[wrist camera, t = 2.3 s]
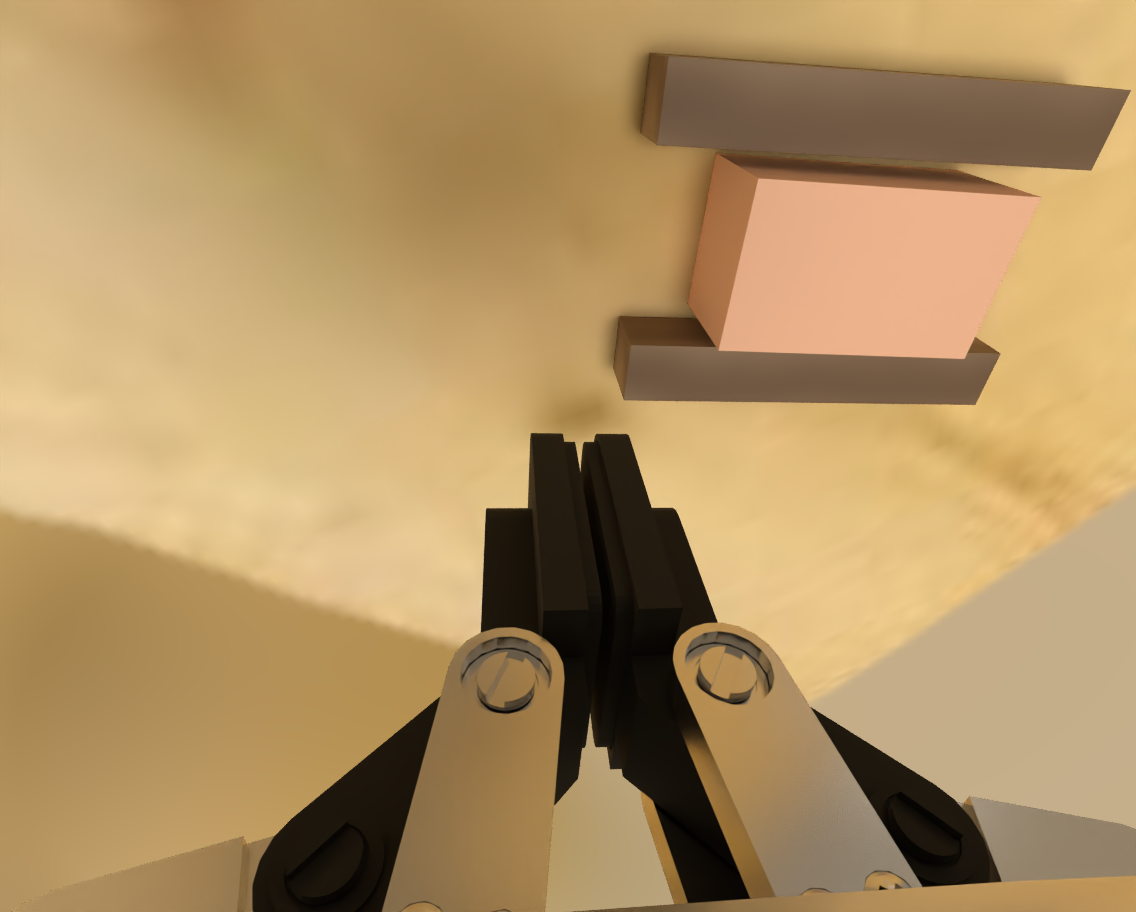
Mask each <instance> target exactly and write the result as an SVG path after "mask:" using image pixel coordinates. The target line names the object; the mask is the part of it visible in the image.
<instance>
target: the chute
mask: <svg viewBox="0 0 1136 912" xmlns="http://www.w3.org/2000/svg"><path fill="white" fill-rule="evenodd" d="M1130 91H1131V90H1122V89H1112V88H1102V87H1092V86H1082V85H1072V84H1060V83H1047V82H1034V81H1020V80H1007V79H993V78H980V77H967V76H953V75H940V74H926V73H913V72H900V71H886V70H873V69H859V68H846V67H833V66H819V65H806V64H792V63H779V62H766V61H752V60H739V59H725V58H712V57H699V56H685V55H672V54H658V53H650V56H649V64H648V73H647V82H646V90H645V99H644V108H643V116H642V125H641V133H642V134H643V135H644V136H646V137H647V138H648V139H650V140H651V141H652V142H654V143H655V144H656V145H663V146H680V147H697V148H714V149H732V150H749V151H766V152H783V153H800V154H817V155H834V156H852V157H869V158H886V159H903V160H920V161H937V162H954V163H972V164H989V165H1006V166H1023V167H1040V168H1057V169H1074V170H1092V168H1093V166H1094V164H1095V162H1096V160H1097V158H1098V156H1099V154H1100V152H1101V150H1102V148H1103V146H1104V144H1105V142H1106V140H1107V138H1108V136H1109V134H1110V132H1111V130H1112V128H1113V126H1114V124H1115V122H1116V120H1117V118H1118V116H1119V113H1120V111H1121V109H1122V107H1123V105H1124V103H1125V101H1126V99H1127V97H1128V95H1129V93H1130ZM999 356H1000V353H999V352H997V351H996V350H994V349H993V348H991V347H990V346H988V345H987V344H985V343H983V342H982V341H980V340H979V339H977V338H976V337H975V338H974V340H973V342H972V344H971V346H970V349H969V351H968V353H967V355H966V357H965V359H952V358H922V357H893V356H863V355H833V354H804V353H774V352H745V351H719V350H718V349H717V347H716V346H715V344H714V343H713V341H712V340H711V338H710V337H709V335H708V334H707V332H706V331H705V329H704V328H703V326H702V325H701V323H700V322H699V320H698V319H690V318H654V317H619V324H618V332H617V341H616V350H615V358H614V367H613V369H614V372H615V375H616V378H617V381H618V384H619V387H620V390H621V393H622V396H623V399H624V400H643V401H720V402H797V403H874V404H951V405H975V404H976V402H977V400H978V398H979V396H980V394H981V392H982V390H983V388H984V386H985V384H986V382H987V380H988V378H989V376H990V374H991V372H992V370H993V368H994V366H995V364H996V362H997V360H998V358H999Z"/></svg>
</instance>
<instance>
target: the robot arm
mask: <svg viewBox="0 0 1136 912" xmlns="http://www.w3.org/2000/svg"><path fill="white" fill-rule="evenodd" d="M590 714H591V721H592V730H593V738H594V743H595V746H596V747H607V750H608V757H609V763H610V769H622V774H623V777H624V778H626V779H627V780H628V781H629V782H631V783H632V784H633V785H634V786H636V787H637V788H638V789H639V790H640V791H641V798H642V804H643V809H644V813H645V816H646V819H647V822H648V825H649V828H650V831H651V834H652V837H653V840H654V843H655V846H656V850H657V853H658V855H659V859H660V862H661V865H662V868H663V871H664V874H665V877H666V880H667V883H668V886H669V889H670V892H671V895H672V898H673V902H674V904H673V905H660V906H659V905H658V906H645V907H631V908H618V909H605V910H589V911H575V912H1136V829H1134V828H1131V827H1129V826H1126V825H1123V824H1118V823H1113V822H1107V821H1102V820H1096V819H1091V818H1085V817H1080V816H1074V815H1069V814H1063V813H1058V812H1053V811H1047V810H1042V809H1036V808H1030V807H1026V806H1020V805H1015V804H1009V803H1004V802H998V801H993V800H988V799H982V798H977V797H971V796H969V797H968V799H967V800H966V801H965V802H964V803H959V802H956V801H955V800H954V799H953V798H952V797H950V796H949V795H947V794H946V793H945V792H944V791H942V790H941V789H940V788H938V787H937V786H936V785H934V784H933V783H931V782H930V781H928V780H926V779H925V778H923V777H922V776H920V775H918V774H917V773H915V772H914V771H912V770H910V769H909V768H907V767H906V766H904V765H902V764H901V763H899V762H898V761H896V760H894V759H893V758H891V757H890V756H888V755H886V754H885V753H883V752H882V751H880V750H878V749H877V748H875V747H874V746H872V745H870V744H869V743H867V742H866V741H864V740H862V739H861V738H859V737H857V736H856V735H854V734H853V733H851V732H850V731H848V730H846V729H845V728H843V727H842V726H840V725H838V724H837V723H835V722H834V721H832V720H831V719H829V718H827V717H826V716H824V715H822V714H821V713H819V712H818V711H816V710H815V709H813V708H811V707H810V706H809V704H808V703H807V701H806V699H805V698H804V696H803V695H802V693H801V691H800V690H799V688H798V687H797V685H796V683H795V682H794V680H793V679H792V677H791V675H790V674H789V672H788V671H787V669H786V667H785V666H784V664H783V663H782V661H781V659H780V658H779V656H778V655H777V654H776V653H775V652H774V650H773V649H772V648H771V647H770V646H769V644H767V643H766V642H765V641H763V640H762V639H761V638H759V637H758V636H757V635H755V634H754V633H752V632H749V631H747V630H745V629H743V628H741V627H739V626H734V625H730V624H725V623H718V622H717V619H716V617H715V614H714V611H713V608H712V606H711V603H710V600H709V597H708V595H707V592H706V589H705V586H704V584H703V581H702V578H701V576H700V573H699V570H698V567H697V565H696V562H695V559H694V556H693V554H692V551H691V548H690V545H689V543H688V540H687V537H686V535H685V532H684V529H683V526H682V524H681V521H680V518H679V516H678V514H677V512H676V510H675V509H673V508H651V504H650V501H649V498H648V495H647V492H646V488H645V485H644V482H643V479H642V476H641V473H640V469H639V466H638V463H637V460H636V457H635V453H634V450H633V447H632V444H631V441H630V438H629V435H627V434H596V435H595V439H594V442H584V444H583V450H582V461H581V472H580V468H579V462H578V456H577V450H576V445H575V442H564V438H563V434H553V433H531V438H530V463H529V493H528V508H486V522H485V546H484V570H483V594H482V618H481V633H479V634H478V635H476V636H474V637H472V638H471V639H469V640H467V641H466V642H465V643H464V644H463V645H462V646H461V647H460V648H459V649H458V650H457V652H456V653H455V654H454V657H453V659H452V661H451V663H450V665H449V667H448V671H447V674H446V678H445V682H444V685H443V689H442V693H441V696H440V697H439V698H438V699H437V700H435V701H434V702H433V703H432V704H430V705H429V706H428V707H427V708H426V709H424V710H423V711H422V712H421V713H420V714H418V715H417V716H416V717H415V718H414V719H413V720H411V721H410V722H409V723H407V724H406V725H405V726H404V727H403V728H401V729H400V730H399V731H398V732H396V733H395V734H394V735H393V736H392V737H391V738H389V739H388V740H387V741H386V742H384V743H383V744H382V745H381V746H380V747H378V748H377V749H376V750H375V751H373V752H372V753H371V754H370V755H368V756H367V757H366V758H365V759H364V760H363V761H361V762H360V763H359V764H358V765H357V766H355V767H354V768H353V769H352V770H350V771H349V772H348V773H347V774H346V775H344V776H343V777H342V778H341V779H339V780H338V781H337V782H336V783H334V784H333V785H332V786H331V787H330V788H329V789H327V790H326V791H325V792H324V793H323V794H321V795H320V796H319V797H317V798H316V799H315V800H314V801H313V802H312V803H310V804H309V805H308V806H307V807H305V808H304V809H303V810H302V811H301V812H300V813H298V814H297V815H296V816H294V817H293V818H292V819H291V820H290V821H289V822H288V823H287V824H286V825H285V826H284V827H283V828H282V829H281V830H280V831H279V832H278V833H277V834H276V835H275V836H272V837H269V838H266V839H262V840H259V841H255V842H251V843H248V844H247V843H246V841H245V839H244V837H239V838H236V839H232V840H229V841H225V842H222V843H218V844H214V845H211V846H207V847H204V848H201V849H197V850H193V851H190V852H186V853H183V854H179V855H175V856H172V857H168V858H165V859H161V860H158V861H154V862H151V863H147V864H144V865H140V866H137V867H133V868H129V869H126V870H122V871H119V872H115V873H112V874H108V875H105V876H101V877H98V878H94V879H91V880H87V881H83V882H80V883H76V884H73V885H69V886H66V887H62V888H59V889H55V890H52V891H49V892H47V893H45V894H43V895H40V896H38V897H36V898H34V899H31V900H29V901H27V902H24V903H22V904H21V905H20V906H18V907H17V908H16V909H14V910H13V911H12V912H545V908H546V896H547V884H548V872H549V859H550V848H551V835H552V824H553V812H554V805H555V804H556V803H557V802H558V801H559V800H560V799H561V797H562V796H563V795H564V794H565V793H566V792H567V791H568V789H569V788H570V787H571V786H572V785H573V783H574V782H575V781H576V780H577V779H578V775H579V767H580V759H581V751H582V748H584V747H585V746H586V739H587V732H588V724H589V717H590Z"/></svg>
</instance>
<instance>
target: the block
mask: <svg viewBox="0 0 1136 912" xmlns="http://www.w3.org/2000/svg"><path fill="white" fill-rule="evenodd" d="M1041 198H1042V197H1039V196H1036V195H1032V194H1029V193H1026V192H1023V191H1020V190H1017V189H1014V188H1011V187H1008V186H1004V185H1001V184H998V183H995V182H992V181H989V180H986V179H983V178H979V177H976V176H973V175H970V174H967V173H964V172H961V171H958V170H947V169H933V168H919V167H905V166H891V165H877V164H863V163H849V162H835V161H821V160H807V159H793V158H779V157H765V156H751V155H737V154H723V153H716V157H715V162H714V167H713V173H712V178H711V183H710V188H709V194H708V199H707V204H706V209H705V215H704V220H703V225H702V230H701V236H700V241H699V246H698V251H697V257H696V262H695V267H694V272H693V278H692V283H691V288H690V293H689V299H688V305H689V307H690V308H691V310H692V311H693V313H694V314H695V316H696V317H697V319H698V320H699V322H700V323H701V325H702V326H703V328H704V329H705V331H706V332H707V334H708V335H709V337H710V338H711V340H712V341H713V343H714V344H715V346H716V347H717V349H718V350H719V351H745V352H774V353H804V354H833V355H863V356H893V357H922V358H952V359H965V357H966V355H967V353H968V351H969V349H970V346H971V344H972V342H973V340H974V338H975V336H976V334H977V332H978V330H979V328H980V325H981V323H982V321H983V319H984V317H985V315H986V313H987V311H988V309H989V307H990V305H991V302H992V300H993V298H994V296H995V294H996V292H997V290H998V288H999V286H1000V284H1001V282H1002V279H1003V277H1004V275H1005V273H1006V271H1007V269H1008V267H1009V265H1010V263H1011V261H1012V259H1013V256H1014V254H1015V252H1016V250H1017V248H1018V246H1019V244H1020V242H1021V240H1022V238H1023V236H1024V233H1025V231H1026V229H1027V227H1028V225H1029V223H1030V221H1031V219H1032V217H1033V215H1034V212H1035V210H1036V208H1037V206H1038V204H1039V202H1040V200H1041Z"/></svg>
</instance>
